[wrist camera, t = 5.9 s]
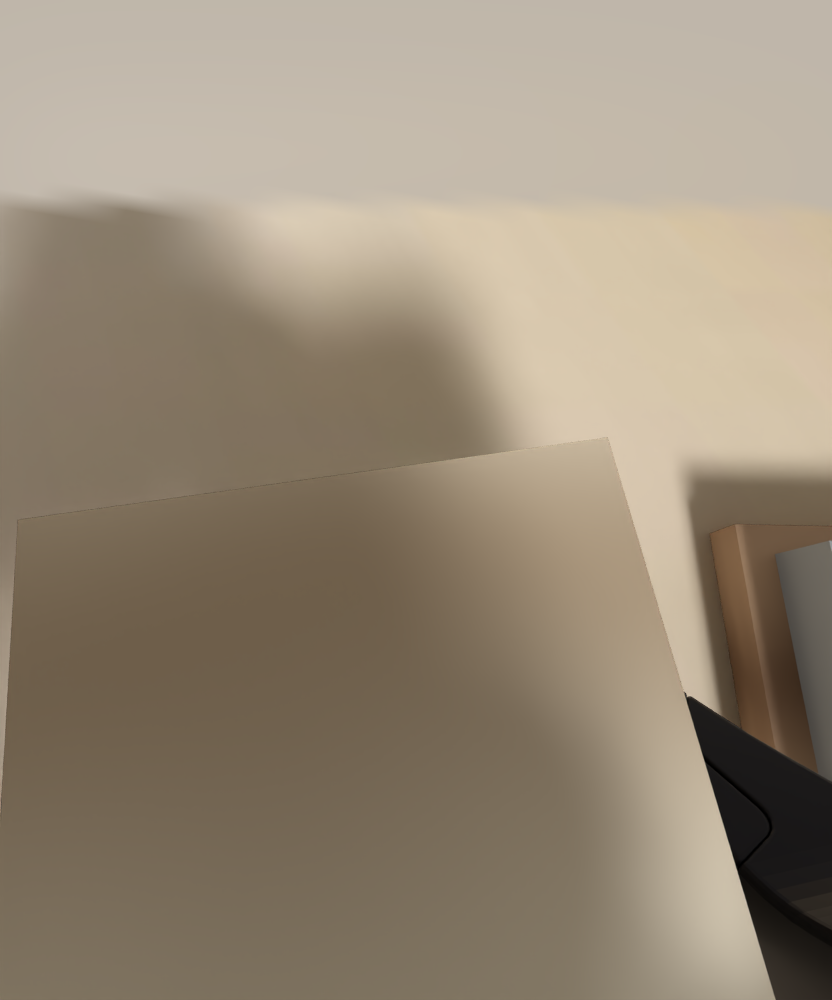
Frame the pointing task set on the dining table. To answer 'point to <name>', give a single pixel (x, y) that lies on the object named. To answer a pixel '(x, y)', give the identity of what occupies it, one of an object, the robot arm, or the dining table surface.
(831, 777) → the slate slab
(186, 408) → the dining table surface
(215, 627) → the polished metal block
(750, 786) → the robot arm
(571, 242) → the dining table surface
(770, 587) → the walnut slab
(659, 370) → the dining table surface
